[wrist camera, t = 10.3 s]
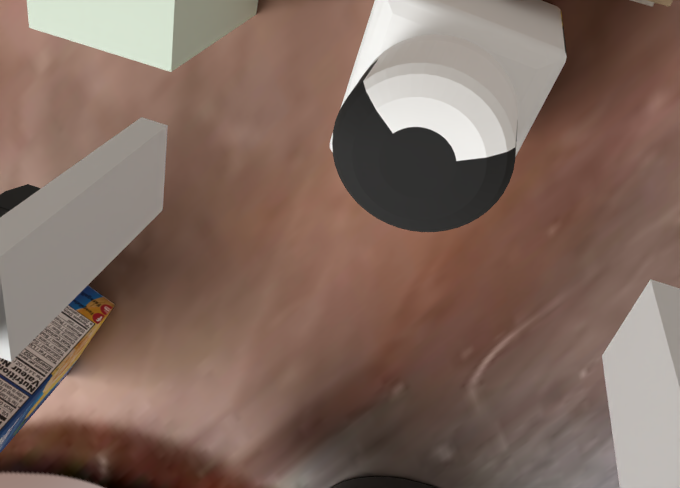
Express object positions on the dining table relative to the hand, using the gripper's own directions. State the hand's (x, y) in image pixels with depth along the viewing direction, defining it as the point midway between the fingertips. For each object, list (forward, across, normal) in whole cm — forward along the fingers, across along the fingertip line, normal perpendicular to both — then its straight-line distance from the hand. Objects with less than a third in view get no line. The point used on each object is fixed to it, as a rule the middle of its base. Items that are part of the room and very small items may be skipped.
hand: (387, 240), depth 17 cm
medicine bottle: (+16, 0, +1) cm, 17 cm away
